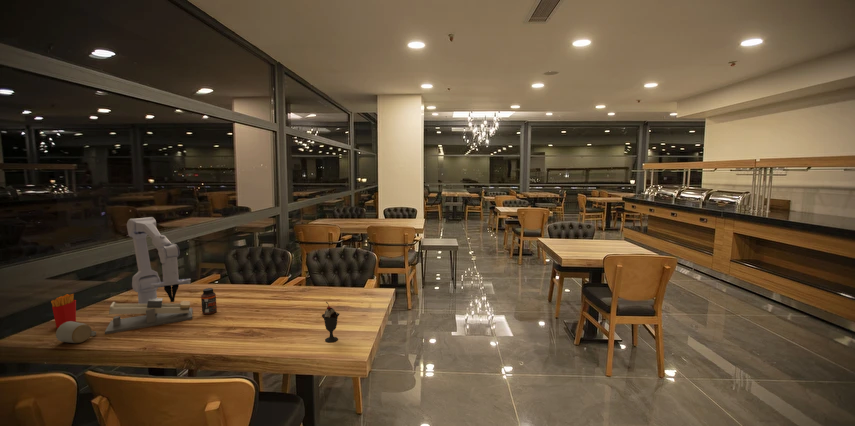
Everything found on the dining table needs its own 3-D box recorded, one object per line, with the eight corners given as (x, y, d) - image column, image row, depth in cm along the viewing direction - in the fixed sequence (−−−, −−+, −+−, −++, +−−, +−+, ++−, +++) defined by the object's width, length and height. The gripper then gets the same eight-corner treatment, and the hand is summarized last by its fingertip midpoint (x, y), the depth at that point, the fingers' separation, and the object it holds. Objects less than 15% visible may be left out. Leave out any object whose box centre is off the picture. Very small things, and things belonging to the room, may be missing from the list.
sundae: (324, 336, 148) (323, 299, 147) (341, 335, 149) (340, 299, 147) (320, 343, 142) (319, 305, 140) (338, 343, 142) (337, 305, 141)
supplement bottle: (209, 315, 170) (207, 291, 169) (199, 314, 172) (197, 290, 171) (220, 310, 176) (218, 287, 175) (209, 309, 178) (207, 286, 176)
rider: (147, 307, 165) (149, 298, 165) (161, 306, 167) (162, 298, 167) (146, 310, 161) (148, 301, 161) (160, 310, 164) (162, 301, 164)
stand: (111, 322, 162) (110, 308, 162) (192, 309, 178) (191, 296, 177) (104, 334, 150) (103, 318, 150) (192, 319, 166) (191, 305, 166)
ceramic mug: (73, 346, 139) (72, 327, 139) (56, 345, 141) (54, 325, 140) (102, 335, 150) (101, 316, 149) (86, 333, 151) (84, 315, 151)
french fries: (70, 321, 164) (67, 292, 163) (80, 320, 164) (77, 292, 163) (50, 329, 155) (47, 299, 154) (61, 329, 155) (58, 299, 154)
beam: (111, 310, 159) (113, 300, 159) (188, 309, 174) (189, 300, 174) (108, 315, 153) (110, 305, 153) (188, 314, 168) (189, 305, 168)
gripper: (149, 276, 159) (151, 307, 160) (189, 271, 167) (191, 301, 168) (151, 272, 165) (153, 302, 166) (189, 268, 173) (191, 296, 174)
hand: (172, 301), depth 168 cm, fingers closed
